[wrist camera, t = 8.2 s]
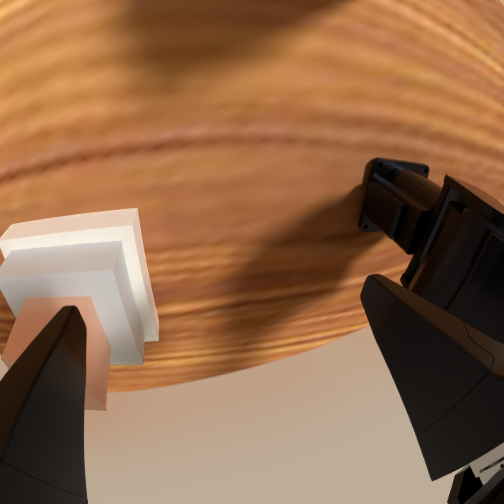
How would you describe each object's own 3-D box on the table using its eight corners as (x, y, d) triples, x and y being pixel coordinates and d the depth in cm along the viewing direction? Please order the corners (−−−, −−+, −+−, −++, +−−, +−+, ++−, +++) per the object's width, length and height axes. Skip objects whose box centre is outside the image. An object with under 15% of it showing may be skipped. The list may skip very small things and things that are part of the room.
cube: (90, 296, 15) (73, 365, 10) (111, 348, 17) (105, 410, 13) (26, 297, 13) (1, 358, 9) (53, 346, 16) (40, 403, 12)
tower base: (138, 204, 18) (132, 225, 16) (158, 315, 25) (158, 340, 22) (14, 220, 16) (-3, 241, 14) (55, 319, 22) (48, 343, 20)
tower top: (121, 240, 16) (113, 270, 14) (144, 334, 21) (143, 364, 19) (11, 250, 14) (-6, 276, 12) (52, 335, 19) (44, 362, 17)
